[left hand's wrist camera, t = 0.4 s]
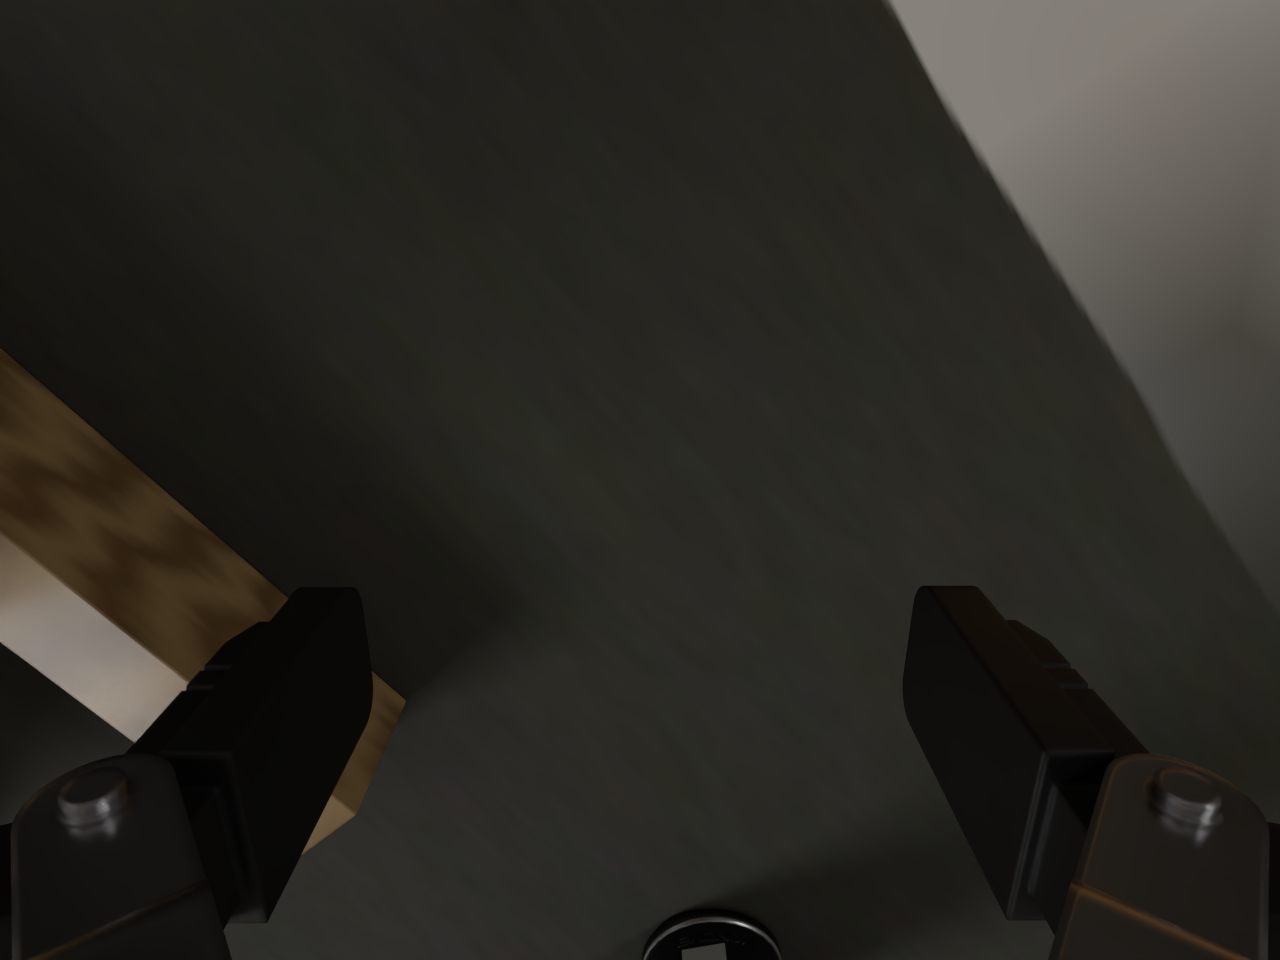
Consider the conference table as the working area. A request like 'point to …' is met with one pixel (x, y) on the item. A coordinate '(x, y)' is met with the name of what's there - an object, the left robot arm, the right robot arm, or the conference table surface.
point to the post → (126, 580)
